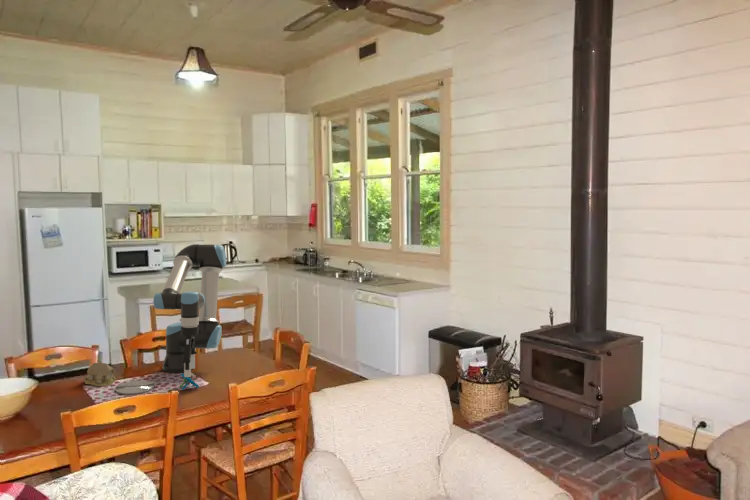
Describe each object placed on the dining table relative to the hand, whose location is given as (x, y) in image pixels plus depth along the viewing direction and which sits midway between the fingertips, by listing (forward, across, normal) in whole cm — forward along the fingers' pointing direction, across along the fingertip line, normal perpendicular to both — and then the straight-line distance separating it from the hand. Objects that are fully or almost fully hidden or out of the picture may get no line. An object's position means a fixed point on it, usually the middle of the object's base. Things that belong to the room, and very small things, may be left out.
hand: (189, 372), depth 252 cm
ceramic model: (+8, -14, -42) cm, 45 cm away
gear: (+8, 0, 0) cm, 8 cm away
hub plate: (+7, -3, -24) cm, 25 cm away
